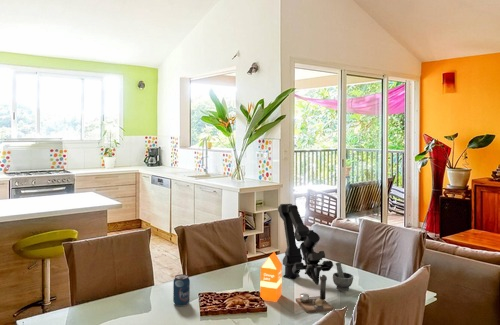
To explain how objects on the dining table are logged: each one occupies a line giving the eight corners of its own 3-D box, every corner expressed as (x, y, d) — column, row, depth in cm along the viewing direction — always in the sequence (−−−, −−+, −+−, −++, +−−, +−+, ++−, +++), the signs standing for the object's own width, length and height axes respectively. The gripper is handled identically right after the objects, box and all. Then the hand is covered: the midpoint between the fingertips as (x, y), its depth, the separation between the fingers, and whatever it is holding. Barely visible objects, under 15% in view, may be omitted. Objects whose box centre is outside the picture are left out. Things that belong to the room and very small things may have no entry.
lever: (299, 299, 179) (299, 273, 178) (325, 299, 179) (325, 273, 178) (300, 302, 175) (301, 276, 174) (326, 303, 175) (327, 276, 174)
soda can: (182, 308, 170) (182, 280, 170) (169, 304, 174) (170, 277, 173) (192, 302, 176) (193, 275, 175) (180, 299, 180) (181, 272, 179)
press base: (295, 301, 180) (295, 290, 180) (320, 298, 183) (320, 288, 183) (307, 313, 167) (307, 302, 167) (333, 310, 171) (334, 299, 170)
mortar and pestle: (356, 292, 192) (357, 267, 191) (338, 293, 189) (339, 268, 189) (344, 283, 203) (345, 260, 202) (327, 285, 200) (328, 261, 200)
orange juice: (281, 294, 187) (282, 252, 186) (276, 302, 179) (277, 257, 178) (265, 292, 190) (266, 250, 188) (259, 299, 181) (260, 255, 180)
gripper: (295, 245, 183) (304, 278, 173) (332, 243, 188) (343, 274, 178) (288, 257, 191) (296, 289, 181) (324, 255, 196) (334, 285, 187)
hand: (317, 284), depth 182 cm, fingers closed
